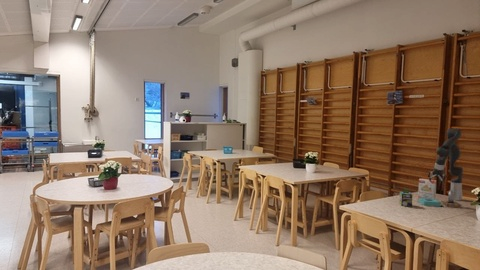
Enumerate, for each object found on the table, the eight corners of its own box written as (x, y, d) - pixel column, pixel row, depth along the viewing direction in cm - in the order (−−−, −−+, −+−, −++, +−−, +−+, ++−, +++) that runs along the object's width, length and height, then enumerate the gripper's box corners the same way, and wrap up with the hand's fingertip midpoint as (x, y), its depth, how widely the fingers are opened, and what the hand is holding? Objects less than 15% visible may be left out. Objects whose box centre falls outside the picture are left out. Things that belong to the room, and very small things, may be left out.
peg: (452, 205, 298) (452, 190, 298) (454, 206, 294) (455, 191, 293) (447, 205, 299) (447, 190, 298) (449, 206, 295) (450, 191, 294)
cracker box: (417, 199, 320) (418, 178, 319) (419, 198, 324) (420, 178, 323) (433, 202, 309) (434, 180, 308) (435, 201, 313) (436, 180, 313)
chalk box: (409, 204, 298) (410, 188, 297) (412, 206, 289) (413, 190, 288) (398, 203, 300) (399, 187, 300) (401, 205, 291) (401, 189, 291)
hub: (434, 202, 306) (434, 198, 306) (440, 206, 292) (440, 202, 292) (418, 202, 308) (418, 197, 308) (424, 205, 295) (424, 201, 294)
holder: (454, 204, 301) (454, 201, 301) (461, 208, 289) (461, 204, 289) (440, 203, 303) (440, 200, 303) (446, 207, 291) (446, 203, 291)
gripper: (448, 167, 299) (443, 182, 306) (430, 164, 306) (427, 178, 313) (447, 171, 294) (443, 186, 301) (430, 167, 301) (426, 182, 307)
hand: (435, 182), depth 307 cm, fingers open, 8 cm apart
